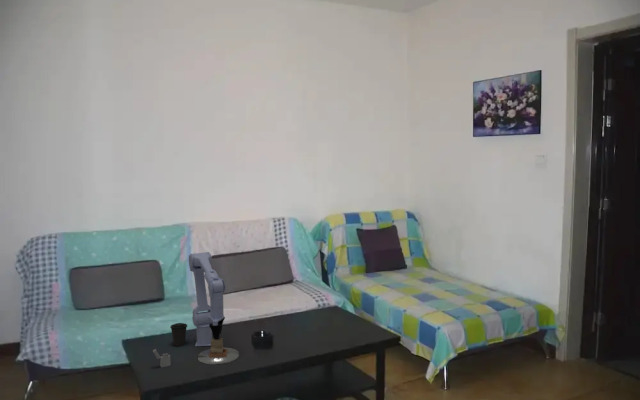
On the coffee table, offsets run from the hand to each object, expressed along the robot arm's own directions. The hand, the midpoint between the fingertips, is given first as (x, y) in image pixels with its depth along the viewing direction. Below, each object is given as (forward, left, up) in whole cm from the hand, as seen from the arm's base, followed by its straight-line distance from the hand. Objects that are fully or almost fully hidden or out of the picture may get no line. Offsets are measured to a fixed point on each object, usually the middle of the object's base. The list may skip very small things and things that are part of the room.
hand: (217, 336), depth 230 cm
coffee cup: (-18, -21, -10) cm, 29 cm away
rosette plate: (0, 0, -9) cm, 9 cm away
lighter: (+9, -23, -10) cm, 26 cm away
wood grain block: (0, 0, -8) cm, 8 cm away
